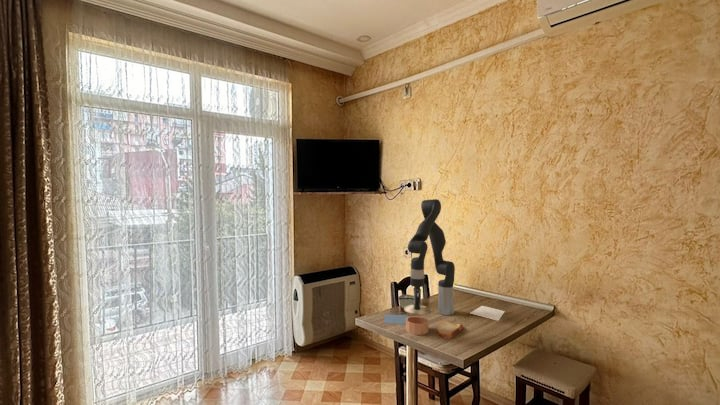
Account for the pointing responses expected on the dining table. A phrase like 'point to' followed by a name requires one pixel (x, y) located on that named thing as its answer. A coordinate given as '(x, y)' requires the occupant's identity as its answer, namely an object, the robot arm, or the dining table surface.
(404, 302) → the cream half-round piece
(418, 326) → the bowl
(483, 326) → the dining table surface
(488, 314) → the paper sheet
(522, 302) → the dining table surface
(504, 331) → the dining table surface
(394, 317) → the mat
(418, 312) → the lid
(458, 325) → the bread slice
